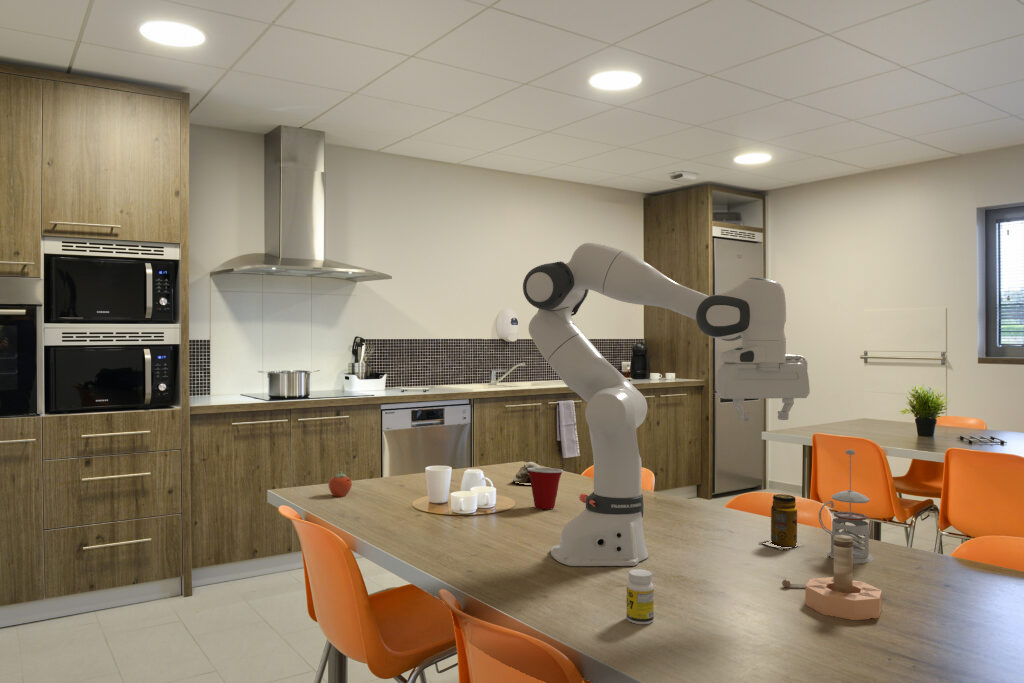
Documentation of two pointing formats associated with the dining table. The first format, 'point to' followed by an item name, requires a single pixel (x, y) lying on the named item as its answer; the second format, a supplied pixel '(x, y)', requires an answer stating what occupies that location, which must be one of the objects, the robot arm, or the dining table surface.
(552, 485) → the plastic cup
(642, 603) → the supplement bottle
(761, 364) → the robot arm
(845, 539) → the needle dowel
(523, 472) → the grey rounded lump
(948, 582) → the dining table surface
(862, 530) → the french press
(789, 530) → the condiment
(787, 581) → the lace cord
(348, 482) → the tomato
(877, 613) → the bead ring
